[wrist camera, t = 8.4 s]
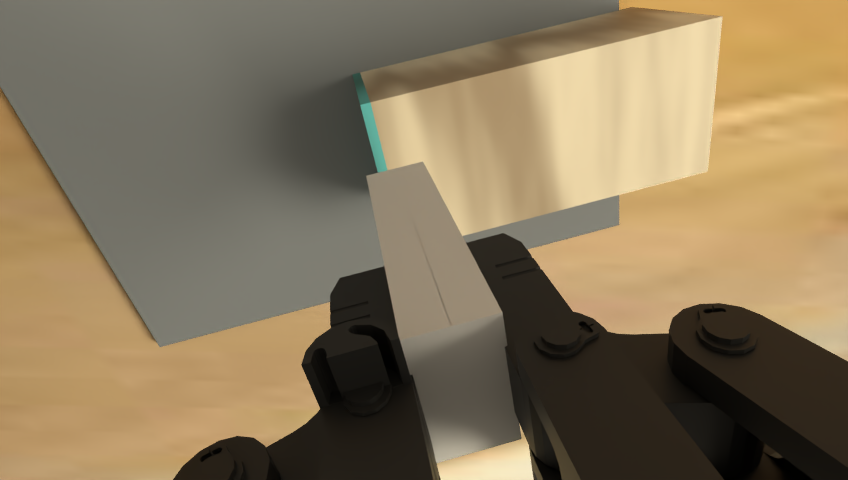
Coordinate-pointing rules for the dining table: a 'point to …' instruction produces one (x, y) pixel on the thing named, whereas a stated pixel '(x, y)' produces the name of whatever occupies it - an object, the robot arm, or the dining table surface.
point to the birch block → (551, 114)
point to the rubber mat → (237, 138)
